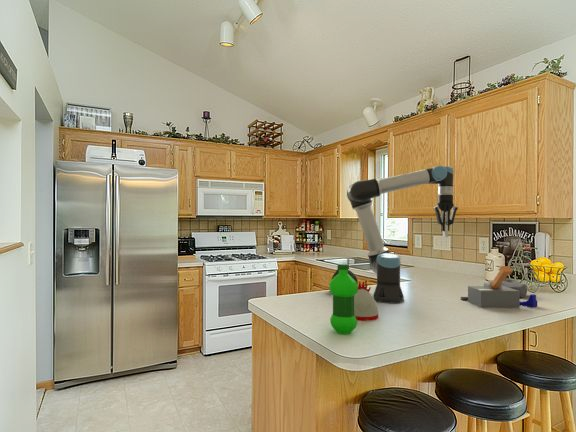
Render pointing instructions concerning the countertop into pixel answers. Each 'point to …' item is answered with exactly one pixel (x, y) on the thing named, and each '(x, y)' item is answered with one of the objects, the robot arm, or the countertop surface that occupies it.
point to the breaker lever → (501, 276)
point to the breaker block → (493, 296)
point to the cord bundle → (464, 298)
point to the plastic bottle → (343, 301)
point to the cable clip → (530, 301)
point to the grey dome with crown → (364, 304)
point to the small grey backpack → (515, 286)
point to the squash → (348, 273)
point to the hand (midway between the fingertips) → (445, 237)
